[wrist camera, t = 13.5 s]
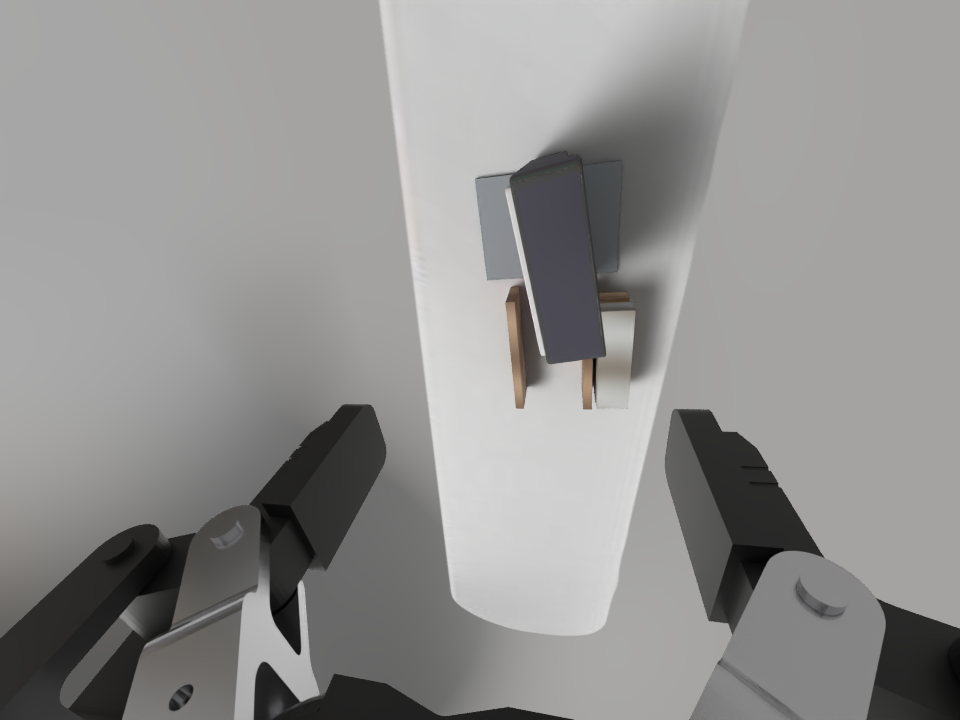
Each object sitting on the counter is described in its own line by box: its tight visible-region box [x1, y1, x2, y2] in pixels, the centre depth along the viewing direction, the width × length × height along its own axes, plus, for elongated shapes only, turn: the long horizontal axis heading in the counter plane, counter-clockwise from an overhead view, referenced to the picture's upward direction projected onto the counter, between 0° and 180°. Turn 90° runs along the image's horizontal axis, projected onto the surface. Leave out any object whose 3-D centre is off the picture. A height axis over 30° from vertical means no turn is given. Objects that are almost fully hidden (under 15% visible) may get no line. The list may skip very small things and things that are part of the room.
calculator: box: [505, 151, 606, 364], centre depth 27 cm, size 11×4×15 cm, turn 15°
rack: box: [506, 287, 593, 409], centre depth 38 cm, size 12×8×4 cm, turn 7°
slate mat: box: [475, 160, 622, 280], centre depth 34 cm, size 9×12×1 cm
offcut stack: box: [593, 292, 636, 409], centre depth 36 cm, size 11×3×5 cm, turn 7°
